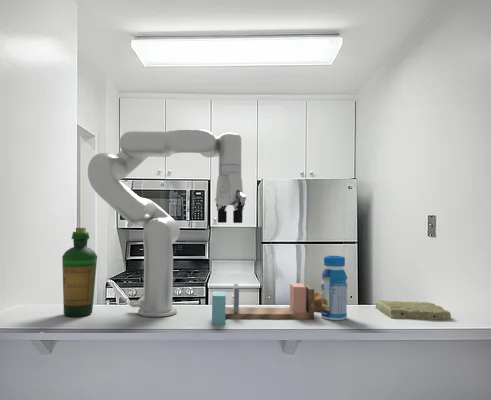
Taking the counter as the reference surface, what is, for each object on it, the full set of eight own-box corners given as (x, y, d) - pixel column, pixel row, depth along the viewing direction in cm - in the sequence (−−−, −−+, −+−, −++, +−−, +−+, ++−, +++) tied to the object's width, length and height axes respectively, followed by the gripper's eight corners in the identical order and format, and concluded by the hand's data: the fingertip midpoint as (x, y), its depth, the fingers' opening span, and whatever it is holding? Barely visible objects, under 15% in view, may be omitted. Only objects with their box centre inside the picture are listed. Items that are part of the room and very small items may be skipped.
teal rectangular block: (211, 324, 131) (212, 295, 131) (212, 318, 139) (213, 291, 139) (225, 324, 131) (225, 296, 131) (225, 318, 139) (225, 291, 139)
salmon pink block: (293, 313, 140) (293, 287, 141) (289, 308, 148) (290, 283, 149) (305, 313, 141) (305, 287, 141) (301, 308, 149) (301, 283, 149)
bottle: (52, 317, 136) (55, 227, 137) (73, 310, 147) (76, 227, 148) (82, 319, 134) (85, 228, 135) (101, 312, 144) (104, 227, 145)
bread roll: (328, 323, 150) (338, 302, 150) (301, 308, 152) (311, 288, 152) (327, 316, 160) (337, 297, 160) (302, 303, 162) (311, 284, 161)
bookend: (233, 312, 139) (234, 288, 139) (233, 306, 148) (233, 283, 148) (238, 312, 139) (239, 288, 139) (237, 306, 148) (238, 283, 148)
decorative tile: (375, 308, 160) (375, 299, 160) (430, 310, 159) (430, 300, 159) (390, 320, 141) (390, 309, 141) (453, 322, 141) (453, 311, 141)
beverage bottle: (341, 322, 136) (342, 258, 137) (316, 318, 141) (317, 256, 141) (350, 317, 143) (351, 256, 144) (326, 313, 148) (327, 254, 149)
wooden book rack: (225, 318, 138) (225, 288, 139) (225, 311, 148) (225, 283, 149) (313, 319, 140) (314, 289, 140) (308, 312, 150) (308, 284, 150)
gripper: (207, 172, 149) (207, 222, 148) (234, 167, 135) (234, 223, 134) (226, 174, 153) (225, 222, 153) (254, 169, 139) (254, 223, 138)
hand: (229, 222), depth 143 cm, fingers open, 9 cm apart
